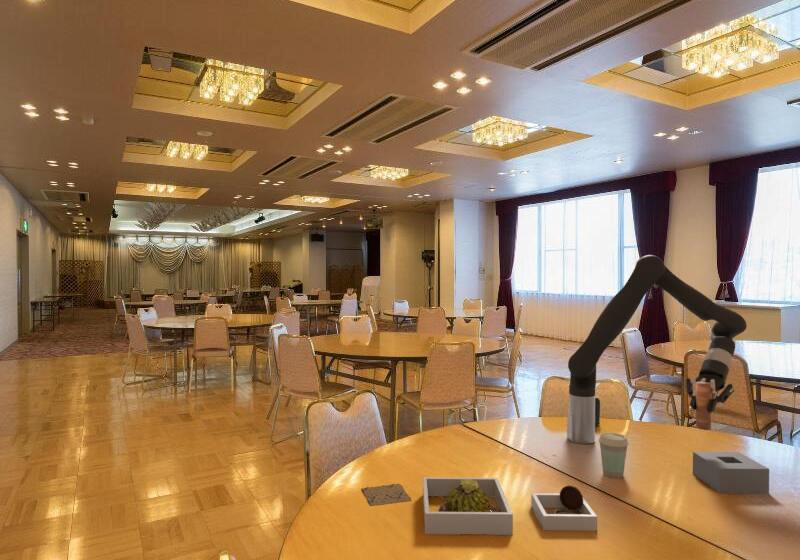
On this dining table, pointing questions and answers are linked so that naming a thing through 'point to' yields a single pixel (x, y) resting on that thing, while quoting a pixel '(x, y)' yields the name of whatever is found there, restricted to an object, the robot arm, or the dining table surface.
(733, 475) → the hole block
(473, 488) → the cactus
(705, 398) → the pin
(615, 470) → the coffee cup
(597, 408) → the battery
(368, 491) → the speckled stone tile
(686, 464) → the dining table surface
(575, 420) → the robot arm
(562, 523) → the tray
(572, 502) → the dark brown rounded piece
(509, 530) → the cactus tray
